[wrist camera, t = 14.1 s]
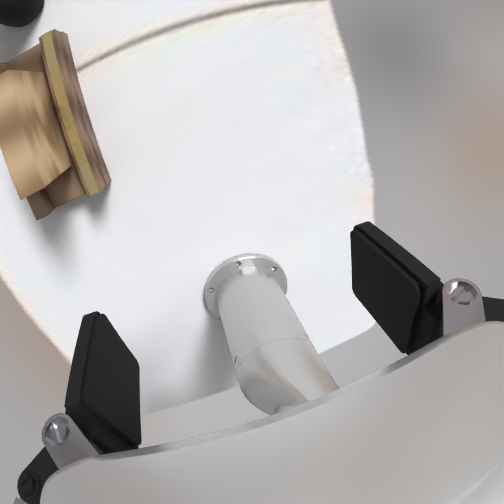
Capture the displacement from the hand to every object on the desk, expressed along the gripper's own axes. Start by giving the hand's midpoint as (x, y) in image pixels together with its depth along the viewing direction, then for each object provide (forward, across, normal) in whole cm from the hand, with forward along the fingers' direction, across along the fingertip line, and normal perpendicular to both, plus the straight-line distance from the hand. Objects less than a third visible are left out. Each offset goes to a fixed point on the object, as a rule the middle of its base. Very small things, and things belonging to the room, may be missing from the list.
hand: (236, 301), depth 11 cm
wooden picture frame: (+26, +15, -10) cm, 32 cm away
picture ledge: (+28, +15, -10) cm, 34 cm away
